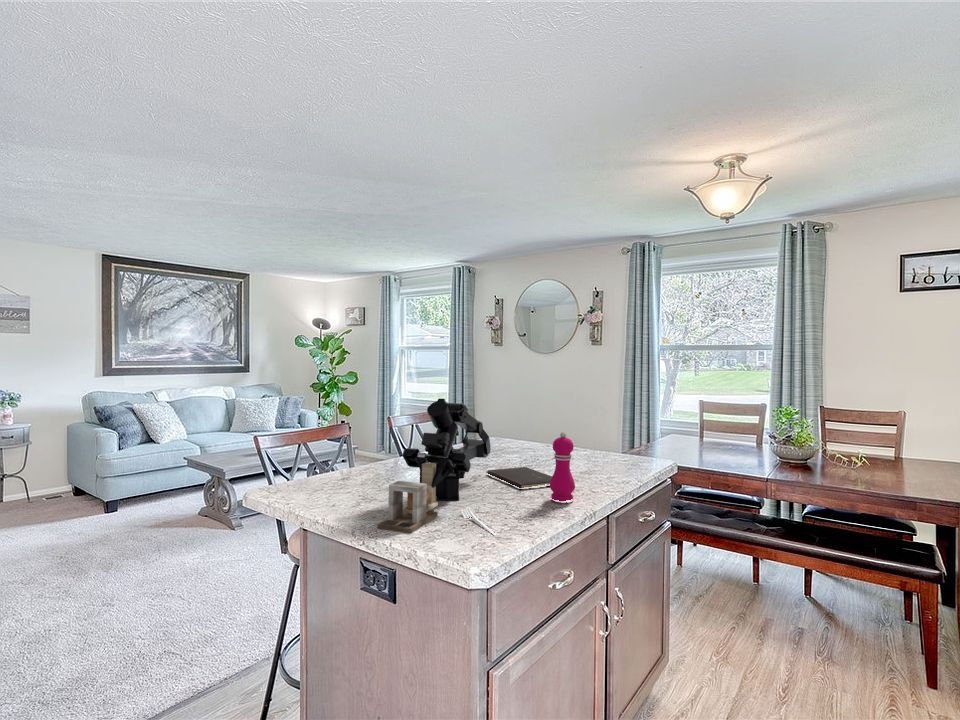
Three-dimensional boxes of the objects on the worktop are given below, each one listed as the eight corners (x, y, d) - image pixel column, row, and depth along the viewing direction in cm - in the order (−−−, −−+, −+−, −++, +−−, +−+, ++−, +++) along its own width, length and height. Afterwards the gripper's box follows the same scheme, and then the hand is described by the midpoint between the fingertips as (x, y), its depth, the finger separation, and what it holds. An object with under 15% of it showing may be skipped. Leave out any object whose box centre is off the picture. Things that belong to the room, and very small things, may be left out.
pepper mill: (577, 499, 151) (578, 431, 151) (571, 505, 144) (572, 434, 144) (553, 496, 154) (554, 429, 154) (546, 502, 147) (547, 432, 147)
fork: (491, 542, 116) (491, 534, 116) (458, 515, 134) (458, 508, 134) (504, 540, 117) (504, 532, 117) (470, 513, 136) (470, 506, 136)
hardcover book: (525, 473, 188) (525, 466, 188) (562, 487, 167) (562, 480, 168) (486, 476, 181) (486, 470, 181) (520, 492, 160) (520, 484, 160)
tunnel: (406, 511, 135) (407, 476, 135) (437, 515, 132) (438, 479, 132) (377, 528, 122) (378, 488, 122) (411, 533, 119) (412, 492, 119)
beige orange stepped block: (423, 503, 140) (423, 462, 140) (437, 505, 138) (438, 463, 138) (405, 513, 130) (406, 469, 130) (421, 515, 129) (422, 470, 129)
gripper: (405, 419, 144) (385, 466, 134) (467, 423, 138) (450, 472, 128) (418, 443, 152) (399, 489, 142) (477, 447, 146) (462, 496, 135)
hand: (426, 486), depth 136 cm, fingers closed on beige orange stepped block, 3 cm apart
